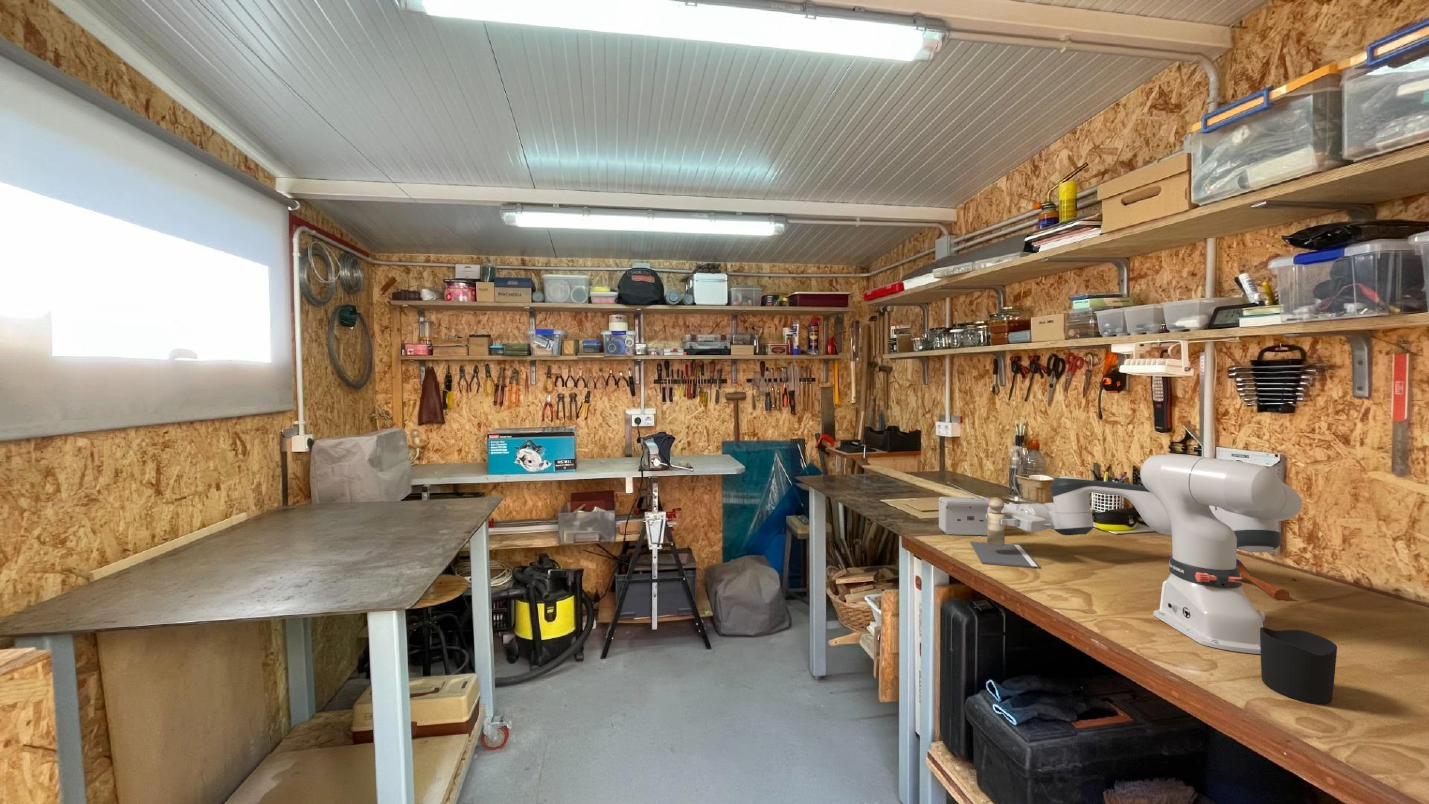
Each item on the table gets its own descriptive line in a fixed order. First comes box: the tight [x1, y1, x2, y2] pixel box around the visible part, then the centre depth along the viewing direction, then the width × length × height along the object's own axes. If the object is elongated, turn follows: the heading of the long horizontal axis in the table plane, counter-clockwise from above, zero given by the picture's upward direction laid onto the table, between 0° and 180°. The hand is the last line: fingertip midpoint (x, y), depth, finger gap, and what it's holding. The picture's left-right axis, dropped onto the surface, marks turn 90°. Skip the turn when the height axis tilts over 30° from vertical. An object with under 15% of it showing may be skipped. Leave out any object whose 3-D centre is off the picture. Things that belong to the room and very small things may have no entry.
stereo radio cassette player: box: [938, 481, 992, 536], centre depth 196 cm, size 21×8×20 cm, turn 82°
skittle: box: [986, 496, 1006, 546], centre depth 172 cm, size 5×5×15 cm
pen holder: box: [1260, 626, 1338, 705], centre depth 96 cm, size 9×9×10 cm
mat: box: [970, 541, 1041, 569], centre depth 172 cm, size 22×16×1 cm
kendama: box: [1236, 558, 1290, 601], centre depth 144 cm, size 6×6×20 cm
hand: (993, 519), depth 172 cm, fingers closed on skittle, 5 cm apart
